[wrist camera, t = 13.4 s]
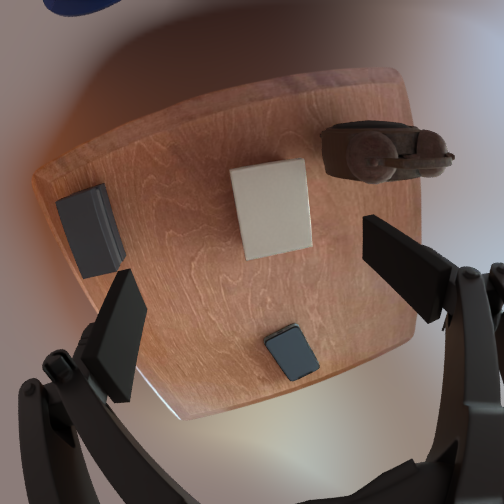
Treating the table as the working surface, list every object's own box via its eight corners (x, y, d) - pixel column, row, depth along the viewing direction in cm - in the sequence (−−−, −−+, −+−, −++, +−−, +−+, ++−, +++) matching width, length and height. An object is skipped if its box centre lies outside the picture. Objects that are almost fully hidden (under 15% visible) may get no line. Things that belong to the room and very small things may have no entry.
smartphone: (298, 324, 51) (321, 368, 57) (296, 319, 53) (319, 363, 59) (262, 342, 52) (290, 383, 58) (260, 337, 53) (288, 378, 59)
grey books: (71, 192, 36) (54, 202, 31) (104, 181, 37) (90, 189, 31) (95, 262, 41) (82, 280, 36) (126, 255, 42) (117, 272, 37)
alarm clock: (380, 118, 39) (473, 126, 21) (384, 160, 42) (473, 188, 24) (299, 123, 38) (375, 123, 20) (306, 170, 41) (379, 205, 23)
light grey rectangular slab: (228, 169, 36) (229, 170, 35) (300, 157, 37) (304, 158, 36) (244, 256, 42) (246, 261, 41) (309, 242, 43) (312, 246, 42)
